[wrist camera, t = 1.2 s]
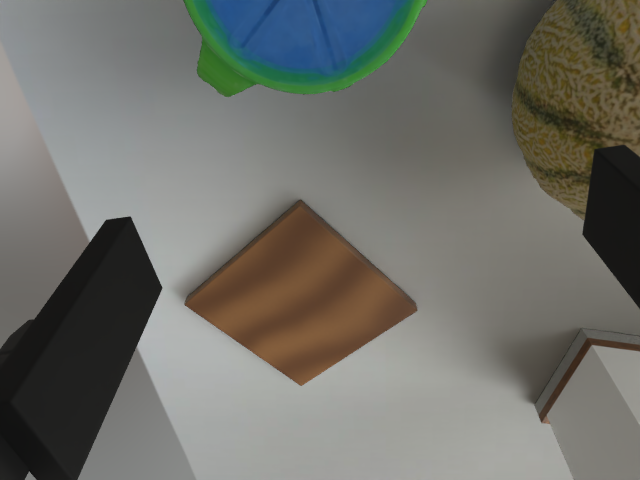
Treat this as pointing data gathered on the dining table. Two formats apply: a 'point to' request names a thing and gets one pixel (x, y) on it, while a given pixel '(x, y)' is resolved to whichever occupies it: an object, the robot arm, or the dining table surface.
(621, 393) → the striped white pillar
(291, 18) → the snack cup
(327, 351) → the wooden board
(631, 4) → the cantaloupe
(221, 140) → the dining table surface
